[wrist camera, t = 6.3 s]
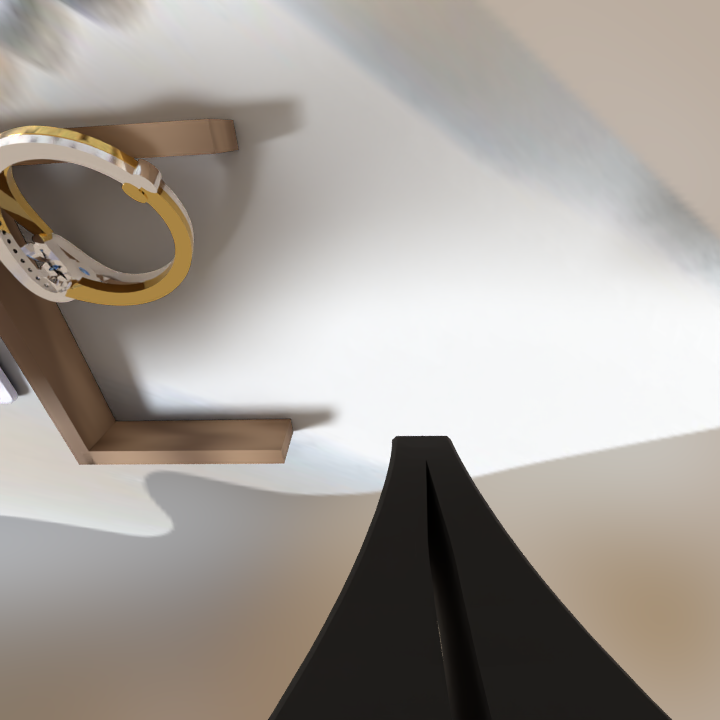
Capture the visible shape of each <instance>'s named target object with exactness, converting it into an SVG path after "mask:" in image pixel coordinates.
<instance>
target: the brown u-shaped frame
mask: <svg viewBox="0 0 720 720" xmlns="http://www.w3.org/2000/svg"><path fill="white" fill-rule="evenodd" d="M62 129H66V130H71V131H74V132H78V133H81V134H84V135H87V136H90V137H92V138H95V139H97V140H100V141H102V142H104V143H106V144H109V145H111V146H113V147H115V148H116V149H118V150H120V151H122V152H124V153H125V154H127V155H129V156H130V157H132V158H151V157H167V156H184V155H200V154H216V153H222V152H228V151H235V150H239V149H238V143H237V138H236V133H235V128H234V123H233V120H222V119H197V120H182V121H167V122H152V123H137V124H122V125H107V126H92V127H77V128H62ZM51 163H68V162H66V161H60V160H52V159H32V160H25V161H21V162H17V163H14V164H12V166H18V165H35V164H51ZM0 210H1V213H2V216H3V219H4V221H5V224H6V226H7V228H8V230H9V232H10V233H11V235H12V237H13V238H14V240H15V241H16V243H17V244H18V245H19V247H22V246H24V245H26V242H25V240H24V238H23V236H22V234H21V232H20V230H19V228H18V226H17V224H16V223H15V221H14V219H13V218H12V217H11V216H10V215H9V214H8V213H6V212H5V211H4V210H3V209H2V208H1V207H0ZM26 256H27V255H26ZM27 257H28V256H27ZM28 259H29V260H30V261H31V262H32V263H33V264H34V266H35V267H36V268H37V269H39V268H38V266H37V264H36V262H35V260H34V259H31V258H30V257H28ZM0 337H1V338H2V340H3V341H4V343H5V345H6V346H7V348H8V350H9V351H10V353H11V354H12V356H13V358H14V359H15V361H16V363H17V364H18V366H19V367H20V369H21V371H22V372H23V374H24V376H25V377H26V379H27V380H28V382H29V384H30V385H31V387H32V389H33V390H34V392H35V393H36V395H37V397H38V398H39V400H40V401H41V403H42V405H43V406H44V408H45V410H46V411H47V413H48V414H49V416H50V418H51V419H52V421H53V423H54V424H55V426H56V427H57V429H58V431H59V432H60V434H61V436H62V437H63V439H64V440H65V442H66V444H67V445H68V447H69V449H70V450H71V452H72V453H73V455H74V457H75V458H76V460H77V462H78V463H79V465H86V464H274V463H284V462H285V459H286V455H287V452H288V448H289V445H290V441H291V438H292V434H293V429H292V424H291V419H256V420H179V421H115V419H114V417H113V415H112V413H111V411H110V409H109V407H108V405H107V403H106V401H105V399H104V397H103V395H102V393H101V391H100V389H99V387H98V385H97V383H96V381H95V379H94V377H93V375H92V373H91V371H90V369H89V367H88V365H87V363H86V361H85V359H84V357H83V355H82V353H81V351H80V349H79V347H78V345H77V343H76V342H75V340H74V338H73V336H72V334H71V332H70V330H69V328H68V326H67V324H66V322H65V320H64V318H63V316H62V314H61V312H60V310H59V308H58V306H57V304H56V302H53V301H50V300H47V299H44V298H42V297H40V296H38V295H36V294H34V293H33V292H31V291H30V290H29V289H27V288H26V287H25V286H24V285H23V284H22V283H21V282H19V281H18V280H17V279H16V277H15V276H14V275H13V274H12V273H11V272H10V271H9V270H8V269H7V268H6V266H5V265H4V264H3V263H2V262H1V260H0Z"/></svg>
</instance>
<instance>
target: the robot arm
mask: <svg viewBox="0 0 720 720" xmlns="http://www.w3.org/2000/svg"><path fill="white" fill-rule="evenodd" d="M17 398H18V394H17V392H16V391H15V389H14V387H13V386H12V384H11V383H10V381H9V380H8V378H7V377H6V375H5V374H4V372H3V370H2V369H1V367H0V403H12V402H13V401H15V400H16V399H17ZM438 626H439V628H438ZM439 632H440V635H439ZM440 639H441V642H440ZM441 647H442V649H441ZM442 654H443V656H442ZM268 720H672V719H671V718H670V717H669V716H668V715H667V714H666V713H665V712H664V711H663V710H662V709H661V708H660V707H659V706H658V705H657V704H656V703H655V702H654V701H653V700H652V699H651V698H650V697H649V696H648V695H647V694H646V693H645V692H644V691H643V690H642V689H641V688H640V687H639V686H638V685H637V684H636V683H635V681H634V680H633V679H631V677H630V676H629V675H628V674H627V673H626V672H625V671H624V670H623V669H622V668H621V667H620V666H619V665H618V664H617V662H616V661H615V660H614V659H613V658H612V657H611V656H610V655H609V654H608V653H607V652H606V651H605V650H604V649H603V648H602V647H601V646H600V645H599V644H598V642H597V641H596V640H595V639H594V638H593V637H592V636H591V635H590V634H589V633H588V632H587V630H586V629H585V628H584V627H583V626H582V625H581V624H580V622H579V621H578V620H577V619H576V618H575V617H574V616H573V614H572V613H571V612H570V611H569V610H568V609H567V608H566V606H565V605H564V604H563V603H562V602H561V601H560V599H559V598H558V597H557V596H556V595H555V593H554V592H553V591H552V590H551V589H550V588H549V586H548V585H547V584H546V583H545V581H544V580H543V579H542V578H541V577H540V576H539V574H538V573H537V571H536V570H535V569H534V568H533V566H532V565H531V564H530V563H529V561H528V560H527V559H526V557H525V556H524V555H523V553H522V552H521V551H520V550H519V548H518V547H517V545H516V544H515V543H514V541H513V540H512V539H511V537H510V536H509V535H508V533H507V532H506V531H505V529H504V528H503V526H502V525H501V523H500V522H499V520H498V519H497V517H496V516H495V514H494V513H493V511H492V510H491V508H490V507H489V505H488V504H487V502H486V501H485V499H484V498H483V496H482V495H481V494H480V492H479V490H478V489H477V487H476V486H475V484H474V482H473V480H472V479H471V477H470V475H469V473H468V472H467V470H466V468H465V466H464V465H463V463H462V461H461V459H460V457H459V455H458V454H457V452H456V450H455V448H454V446H453V443H452V441H451V439H450V438H448V437H447V436H396V437H395V438H394V439H393V440H392V451H391V458H390V463H389V468H388V472H387V476H386V480H385V483H384V486H383V490H382V493H381V496H380V499H379V502H378V505H377V509H376V511H375V514H374V517H373V519H372V522H371V524H370V527H369V530H368V532H367V535H366V537H365V540H364V542H363V545H362V547H361V550H360V552H359V554H358V556H357V559H356V561H355V563H354V565H353V568H352V570H351V572H350V574H349V576H348V578H347V580H346V582H345V585H344V587H343V589H342V591H341V593H340V595H339V597H338V599H337V601H336V603H335V604H334V606H333V608H332V610H331V612H330V614H329V616H328V618H327V620H326V622H325V624H324V626H323V627H322V629H321V631H320V633H319V635H318V637H317V638H316V640H315V642H314V644H313V646H312V647H311V649H310V651H309V653H308V654H307V656H306V658H305V659H304V661H303V663H302V664H301V666H300V668H299V669H298V671H297V673H296V674H295V676H294V678H293V679H292V681H291V683H290V685H289V686H288V688H287V689H286V691H285V693H284V694H283V696H282V698H281V699H280V701H279V703H278V705H277V706H276V708H275V709H274V711H273V713H272V714H271V716H270V717H269V719H268Z"/></svg>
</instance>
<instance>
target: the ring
mask: <svg viewBox="0 0 720 720" xmlns="http://www.w3.org/2000/svg"><path fill="white" fill-rule="evenodd" d="M32 159H52V160H60V161H66V162H70V163H74V164H78V165H82V166H85V167H88V168H90V169H93V170H96V171H98V172H100V173H103V174H105V175H107V176H109V177H111V178H113V179H115V180H117V181H118V182H120V183H122V184H123V185H122V189H123V191H124V192H125V193H126V194H127V195H128V196H130V197H131V198H133V199H134V200H136V201H138V202H141V203H146V202H147V203H149V204H150V205H151V206H152V207H153V208H154V209H155V210H156V211H157V212H158V214H159V215H160V216H161V217H162V218H163V220H164V221H165V223H166V224H167V226H168V227H169V229H170V231H171V234H172V236H173V239H174V243H175V257H174V258H173V260H172V261H171V262H170V263H168V264H167V265H166V266H164V267H162V268H160V269H158V270H155V271H151V272H147V273H141V274H128V273H122V272H118V271H115V270H113V269H110V268H108V267H106V266H104V265H102V264H101V263H99V262H97V261H96V260H94V259H93V258H91V257H90V256H88V255H87V254H85V253H84V252H83V251H81V250H80V249H78V248H77V247H76V246H75V245H73V244H72V243H70V242H69V241H68V240H66V239H65V238H63V237H61V236H59V235H57V234H53V231H52V230H51V229H50V228H49V227H48V225H47V224H46V223H45V222H44V221H43V220H42V219H41V218H40V217H39V216H38V214H37V213H36V212H35V211H34V210H33V209H32V207H31V206H30V205H29V204H28V202H27V201H26V200H25V198H24V197H23V195H22V194H21V192H20V190H19V189H18V187H17V185H16V183H15V180H14V178H13V174H12V164H14V163H17V162H21V161H25V160H32ZM161 177H162V175H161V173H160V171H159V170H158V169H157V168H156V167H155V166H154V165H152V164H151V163H149V162H148V161H146V160H143V159H139V160H138V161H137V160H135V159H134V158H132V157H130V156H129V155H127V154H125V153H124V152H122V151H120V150H118V149H116V148H115V147H113V146H111V145H109V144H106V143H104V142H102V141H100V140H97V139H95V138H92V137H90V136H87V135H84V134H81V133H78V132H74V131H71V130H66V129H62V128H56V127H49V126H23V127H17V128H13V129H9V130H7V131H4V132H2V133H0V207H1V208H2V209H3V210H4V211H5V212H6V213H8V214H9V215H10V216H11V217H12V218H13V219H14V220H15V221H17V222H18V223H19V224H20V225H22V226H23V227H24V228H26V229H27V230H28V231H30V232H31V233H32V234H34V236H33V237H32V240H33V241H34V242H35V244H33V245H32V244H31V243H29V244H26V245H24V246H22V247H19V245H18V244H17V243H16V241H15V240H14V238H13V237H12V235H11V233H10V232H9V230H8V228H7V226H6V224H5V221H4V219H3V216H2V213H1V210H0V260H1V262H2V263H3V264H4V265H5V266H6V268H7V269H8V270H9V271H10V272H11V273H12V274H13V275H14V276H15V277H16V279H17V280H18V281H19V282H21V283H22V284H23V285H24V286H25V287H26V288H27V289H29V290H30V291H31V292H33V293H34V294H36V295H38V296H40V297H42V298H44V299H47V300H50V301H53V302H69V301H72V300H74V299H77V300H81V301H85V302H90V303H96V304H103V305H115V306H127V305H138V304H144V303H148V302H152V301H155V300H157V299H160V298H162V297H164V296H166V295H167V294H169V293H170V292H172V291H173V290H174V289H175V288H177V287H178V286H179V285H180V283H181V282H182V281H183V280H184V278H185V276H186V275H187V273H188V271H189V268H190V265H191V260H192V255H193V245H194V232H193V227H192V223H191V220H190V218H189V215H188V213H187V211H186V209H185V208H184V206H183V204H182V203H181V201H180V200H179V199H178V197H177V196H176V195H175V194H174V192H173V191H172V190H171V189H170V188H169V187H168V186H167V185H166V184H165V183H164V182H163V181H162V180H161ZM26 255H27V256H28V257H30V258H31V259H34V260H36V261H39V262H45V263H44V264H43V265H42V266H41V267H40V268H39V269H37V268H36V267H35V266H34V264H33V263H32V262H31V261H30V260H29V259H28V257H27V256H26ZM55 278H57V280H56V282H55V283H53V282H52V281H50V280H52V279H55ZM100 280H101V281H103V282H105V283H103V282H101V281H100Z"/></svg>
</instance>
